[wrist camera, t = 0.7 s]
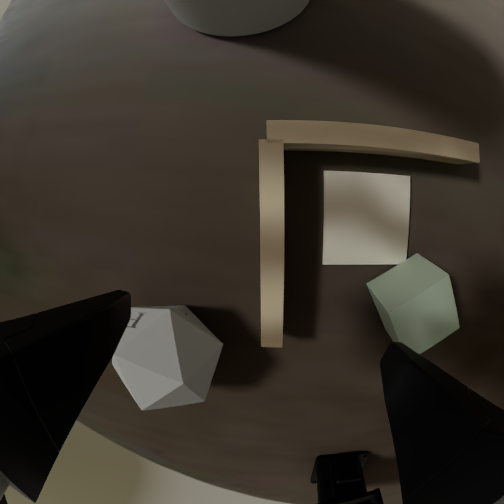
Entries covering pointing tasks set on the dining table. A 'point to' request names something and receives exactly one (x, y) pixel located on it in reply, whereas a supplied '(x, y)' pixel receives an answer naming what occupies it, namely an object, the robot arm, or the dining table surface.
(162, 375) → the die
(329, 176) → the wooden corner guide
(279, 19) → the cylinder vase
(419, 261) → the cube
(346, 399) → the dining table surface
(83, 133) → the dining table surface
